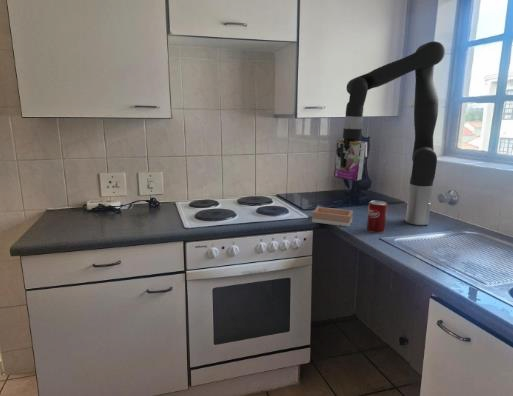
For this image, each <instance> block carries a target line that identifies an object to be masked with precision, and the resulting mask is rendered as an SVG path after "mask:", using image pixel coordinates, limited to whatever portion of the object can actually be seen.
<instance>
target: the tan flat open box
mask: <svg viewBox="0 0 513 396" xmlns="http://www.w3.org/2000/svg"><path fill="white" fill-rule="evenodd" d="M353 213H354V211H353V210H350V209H343V208H342V209H341V208H331V207H325V206H323V207H322V206H316V208H314V209H313V211H312V216H311V222H312V223H315V224H316V223H317V224H318V223H319V224H324V225H325V224H326V225H331V226H340V225H341V226H343V227H348V226H349V227H350V225H351V224H350V223H352V222H353V215H354V214H353Z"/></svg>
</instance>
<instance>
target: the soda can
mask: <svg viewBox="0 0 513 396" xmlns="http://www.w3.org/2000/svg"><path fill="white" fill-rule="evenodd" d="M387 213H388V203H387V202H385V201H382V200H371V201H369V202H368V208H367V220H366V230H367V231H368V232H370V233H373V234H382V233H384V232H385V230H386V224H387Z"/></svg>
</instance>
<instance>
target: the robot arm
mask: <svg viewBox="0 0 513 396" xmlns="http://www.w3.org/2000/svg"><path fill="white" fill-rule="evenodd" d="M445 55H446V49H445V46H444V45H443V44H442V43H441V42H440V41H439V42H438V41H430V42H427V43H424V44H422V45H419V46H418V48H417V49H416V50H415V52H413V53H410V54H409V55H407V56H405V57H402V58H400V59H398V60H394V61H391V62H389V63H387V64H384V65H382V66H379V67H377V68H374V69H373V70H371V71H369V72H367V73H364V74H362V75H358V76H357V77H355V78H352V79H349V81H348V82H347V84H346V91H347V93H348V94H349V99H348V102H347V104H346V107H345V117H344V123H343V129H342V131H343V132H342V139H344V141H343V143H337V142H336V143H337V144H336V152H337V156H338V157H340V158H341V164H340V165H341V167H343V168H345V167H346V157H347V155H348V154H349V153H350V148H351V145H350V146H349V143H350V141H360V140H361V139H362V133H363V132H362V131H363V122H364V121H363V116H364V114H363V113H364V107H365V102H366V98H367V94H368V91H369V90H371V89H374V88H378V87H381V86H384V85H385V84H387V83H389V82H392V81H394V80H396V79H399V78H400V77H403V76H404V75H407V74H408V73H409V74H410V73H411V72H413V71H414V73H415V84H414V87H415V88H414V104H413V105H414V106H413V107H414V108H413V124H414V125H413V126H414V142H413V150H412V151H413V152H412V155H411V157H412V158H411V161H412V168H411V176H410V179H409V186H408V187H409V188H408V196H407V204H406V205H407V207H406V215H405V222H406V223H408V224H410V225H411V224H412V225H416V226H425V225H426V226H428V225H429V221H430V212H431V206H432V205H431V204H432V203H431V201H432V193H433V186H434V185H433V184H434V181H435V178H436V172H437V171H436V170H437V164H438V156H437V153H436V152H435V151H434V150H435V149H434V133H435V129H436V125H437V120H438V114H439V95H438V92H437V88H436V85H435V81H434V74H435V73H434V72H435V71H434V70H435V66H436V65H438V64H439V63H441V62H442V60H443V59H444V58H445ZM343 148H345V149H346V150H347V151H343ZM340 152H341V154H340ZM344 153H345V155H344Z"/></svg>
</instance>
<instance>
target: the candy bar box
mask: <svg viewBox="0 0 513 396" xmlns="http://www.w3.org/2000/svg"><path fill="white" fill-rule="evenodd" d="M343 141H344V138H342V139H337V142H336V143H343ZM350 145H351V148H350V153H349V154H348V155H347V157H346V167H345V168H343V167H341V165H340V164H341V158H340V157H338V156H337V151H336V154H335V163H334V164H335V165H334V171H333V172H334V173H333V177H334V178H338V179H345V180H350V181H356V182H357V181H361V180H362V179H363V170H364V163H365V162H364V161H365V152H366V145H367V142H366V141H360V140H359V141H350V143H349V146H350ZM343 151H347V150H346V149H345V148H343ZM340 154H341V152H340ZM344 155H345V153H344Z"/></svg>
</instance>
